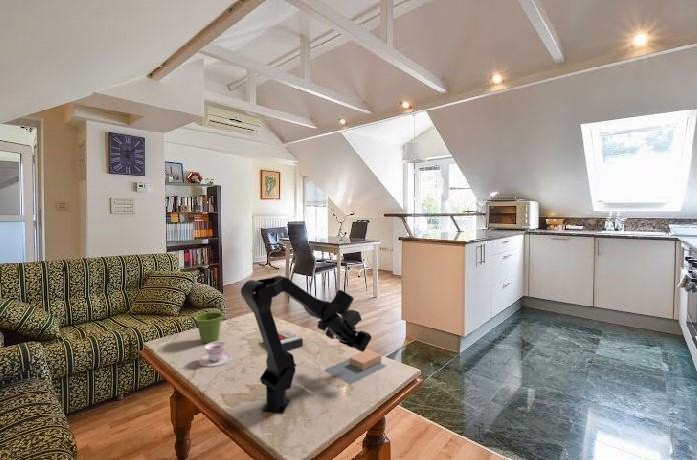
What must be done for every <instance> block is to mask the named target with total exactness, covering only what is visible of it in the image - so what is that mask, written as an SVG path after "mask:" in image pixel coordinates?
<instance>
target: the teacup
mask: <svg viewBox="0 0 697 460" xmlns="http://www.w3.org/2000/svg"><path fill="white" fill-rule="evenodd" d="M226 346H227V342H226V341H224V340H217V341H215V342H211V343H206V344H205V346H204V350H205V351H206V352H207V354H206V355H204V356H202V357H200V359H199V361H198V363H199V365H200V366H202V367H204V368H213V367H214V368H215V367H219V366H222V365H225V364H227V363H229V362H230V361H231V360H232V359H233V356H232V354H231V353H228V352H224V350H225V348H226Z"/></svg>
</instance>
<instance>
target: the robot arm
mask: <svg viewBox="0 0 697 460" xmlns="http://www.w3.org/2000/svg"><path fill="white" fill-rule="evenodd" d="M240 293H241V297H242V298H243V300H244V302H245V304H246V305H247V306H248V308H250V310H251V311H252V312H253V315H254V317H255V320H256V323H257V326H258V329H259V332H260V334H261V335H260V336H261V338H262V341H263V345H264V347H265V350H266V354H267V356H266V361H265V363H266V368H265V370H264V372H263V373H262V374H261V376H260V378H259V380H260V382H261V384H262V385H264V386H265V391H266V392H265V393H266V395H265V396H266V403H265V404H264V406H263V407H262V412H264V413H265V412H266V413H267V412H268V413H278V414H279V413H280V414H283V413H285V410H286V409H287V407H288V406H289V404H290V402H291V399H290V398H287V391H288V390H290V389H291V387H292V384H293V383H292V382H293V379H294V376H295V374H296V367H297V364H296V363H295V359H294V356H293V353H290V352H289V351H285V350H283V347H282V344H281V341H280V338H279V334H278V332H279V331H278V329H277V324H276V322H275V319H274V316H273V313H272V309H271V307H272V303H273V298H275V297H277V296H278V295H280V294H281V293H283V294H285V295H286V296H288V297H289V298H290V299H293V300H294V302H295V301H296V302H297V303H299V304H300V305H301V306H303V308H304V310H305V311H306V313H308V315H310V316H311V317H312V318H316V319H317V320H318V321H317V323H318V324H317V329H319V330H322V331H325V336H326V337H328V339H330V340H334V339H336V340H338V342H339V343H341V344H343V345H346V346H347V347H349V348H351V349H355V350H357V351H359V352H360V353H361V352H363V351H365V350H367V347H368V345H369V343H370V341H371V340H372V339H373V338H372V335H371V334H370V333H369V332H366V331H363V330H359V331H358V330H356V325H358V324H359V322H361V321H362V316H361V314H360V312H359V311H358V310H354V309H350V307H351V305H352V304H353V302H354V298H355V297H353V295H350V294H348V293H347V292H345V291H344V290H341V289H338V290H337V291H336V294H335V295H334V297H333V299H332V300H331V302H330V301H325V300H322V299H319V298H317V297H315V296H312V295H311V294H310V293H309V292H307V291H306V290H305V289H303V288H302V287H301V286H299V285H297V284H296V283H294V282H293V281H292V280H290V278H289V277H286V276H284V275H283V276H282V275H277V276H273V277H269V278H268V277H267V278H262V279H258V280H254V279H250V280H247V281H246V282H244V283H243V285H242V287H241V288H240ZM334 336H335V337H334Z"/></svg>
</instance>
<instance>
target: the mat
mask: <svg viewBox="0 0 697 460" xmlns="http://www.w3.org/2000/svg"><path fill="white" fill-rule="evenodd" d="M386 367H387V365H385V364H383V363H381V362H380V363H378V364H376V365H374V366H371V367H369V368H367V369H365V370H361V369H358V368H356V367H354V366H352V365H350V364H349V358H348V359H345V360H343V361H341V362H339V363H337V364H334V365H332V366H329V367H327V368H325V369H324V371H325V372H327V373H329V374H331V375H332V376H333V377H336V378H338V379H340V380H342V381H343V382H345V383H347V384H349V385H352V384H354V383H356V382H358V381H360V380H362V379H364V378H366V377H368V376H370V375H372V374H374V373H376V372H378V371H380V370H382V369H384V368H386Z"/></svg>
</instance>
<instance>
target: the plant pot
mask: <svg viewBox="0 0 697 460" xmlns="http://www.w3.org/2000/svg"><path fill="white" fill-rule="evenodd" d="M223 317H224V314H223V312H219V311H212V312H211V311H209V312H203V313H199V314H197V315H196V316H194V320H195V322H196V325H197V328H198V334H199V338H200V342H201V343H204V344H209V343H211V342H215V341H219V339H220V330H221V322H222V318H223Z"/></svg>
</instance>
